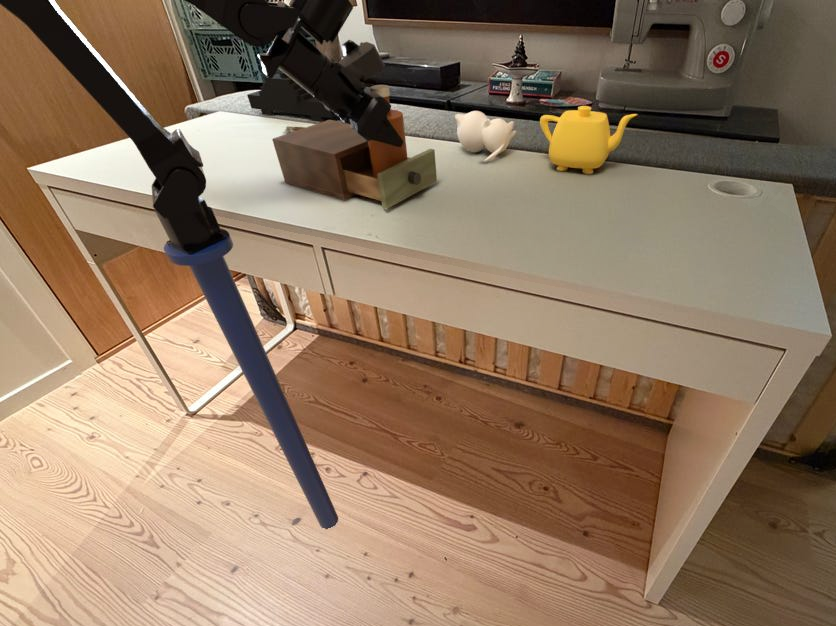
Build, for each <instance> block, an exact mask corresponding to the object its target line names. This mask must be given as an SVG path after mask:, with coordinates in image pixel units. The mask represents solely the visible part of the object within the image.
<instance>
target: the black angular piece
mask: <svg viewBox="0 0 836 626" xmlns="http://www.w3.org/2000/svg"><path fill="white" fill-rule="evenodd" d="M261 83H262V86H260V90H257V91H254V92H251V93H248V94H246V96H247V99H248V102H249V105H250V108H251V109H254V110H260V111H261V115H266V116H274V115H276V113H275V112H278V113H286V114H294V115H295V114H296V115H302V116H310V118H311V121H314V122H324V121H326V119H327V118H328V119H333V118H337V117H336V116H335V115H334V114H333V113H331V112H330V111H329V110H327V109H326V108H325V106H324V104H322V103H321V102H320V101H319V100H317V99H316V98H315V97H314V96H312V95H311V94H310V93H309V92H307V91H306V90H305V89H304V88H302V87H301V86H300V85H299V84H297V83H296V82H295V81H294V80H292V79H291V78H290V77H289V76H287V75H286V74H285V73H283V72H282V71H281V72H277V73H275V75H274V76H273V78H271V79H270V78H268V77H267V76H265V77H264V81H262V82H261ZM325 118H326V119H325Z"/></svg>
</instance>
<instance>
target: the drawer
mask: <svg viewBox="0 0 836 626" xmlns="http://www.w3.org/2000/svg"><path fill="white" fill-rule="evenodd" d="M435 151H436V150H435V149H434V148H429V149H427V150H424V151H422V152H420V153H418V154H416V155H414V156H412V157H408V156H407V158H408V159H407V160H405V161H403V162H401V163H399V164H397V165H395V166H392V167H390V168H388V169H386V170H384V171H382V172H380V173H378V174H377V176H378V178H374V176H373V170H372V164H371V158H370V151H369V148H364V149H362V150H359V151H357V152H354V153H352V154H349V155H347V156H345V157H342V158H340V160H341V164H342V169H343V174H344V178H345V183H346V188H347V191H348V192H352V193H355V194H357V195H359V196H362V197H366V198H369V199H373V200H375V201H376V200H377V201H380V202H381V206H382V208H383V209H386V210H388V209H389V208H391V207H393V206H395V205H397V204H399V203H401V202H402V201H404V200H406V199H409V197H412V196H413V195H416V194H417V193H419V192H421V191H422V190H424V189H426V188H428V187H429V186H432V185H433V184H435V183H436V182H438V177H437V165H436V164H437V163H436V153H435Z"/></svg>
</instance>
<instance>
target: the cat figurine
mask: <svg viewBox="0 0 836 626" xmlns="http://www.w3.org/2000/svg"><path fill="white" fill-rule="evenodd" d="M454 119H455V121H456V124H457V129H456V134H457V139H458V141H459V143H460V145H461V146H462V147H463V148H464V149H465V150H467V151H468V152H470V153H479V152H480V151H483V150H484V149H486V150H487V151H488V152H490V153H491V154H489V155H488V156H487V157H486V158H485V159H484V160H483V163H485V164H486V163H488V162H490V161H492V160H493V159H495V158H496V157H497V156H498V155H499V154H502V153H503V152H505V150H506V149H507V148H508V147H509V144H510V142H511V140H512V139H513V138H514V137H515V136H516V134H517V130H513V129H514V126H515V121H514V120H512V121H510V122H506V121H505V120H504V118H500V117H496V118H492V119H490V118H488V116H487V115H486V114H485V113H484V112H482V111H480V110H472V111H470V112H467V113H457V114H455V115H454Z"/></svg>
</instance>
